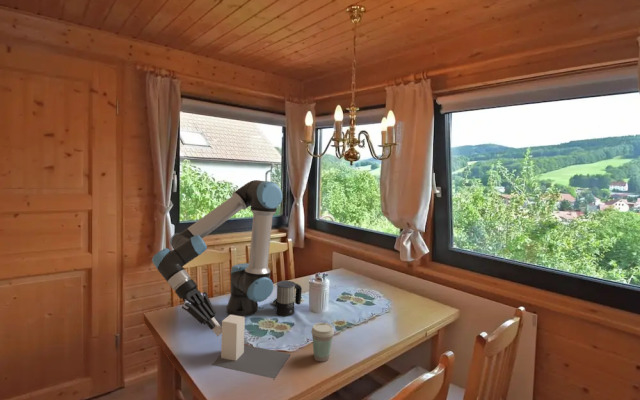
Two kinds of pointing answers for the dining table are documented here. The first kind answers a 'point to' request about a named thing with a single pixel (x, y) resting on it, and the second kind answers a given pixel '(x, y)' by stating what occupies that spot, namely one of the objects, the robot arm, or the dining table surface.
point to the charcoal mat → (256, 361)
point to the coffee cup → (322, 341)
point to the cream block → (232, 337)
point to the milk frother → (287, 297)
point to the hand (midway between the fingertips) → (220, 333)
